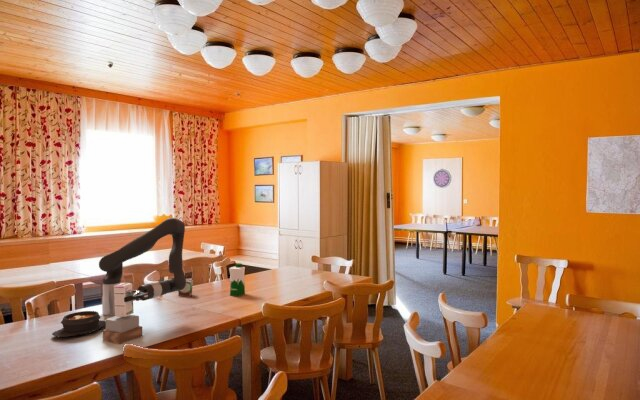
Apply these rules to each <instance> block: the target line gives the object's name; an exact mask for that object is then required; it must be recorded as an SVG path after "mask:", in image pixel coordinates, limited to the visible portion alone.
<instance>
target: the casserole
mask: <svg viewBox="0 0 640 400" xmlns="http://www.w3.org/2000/svg"><path fill="white" fill-rule="evenodd" d="M101 316H102V315H100V314H99V312H98V311H96V310H85V311H84V310H83V311H82V310H81V311H78V312H77V311H75V312H72V313H69V314H66V315H64V316H63V317H62V320H61V321H60V324H61V325H62V328H60V329H58V330H56V331H54V332H52V333H51V335H52V336H53V337H58V338H67V337H68V338H69V337H72V336H77V337H78V336H84V335H88V334H91V333H94V332H95V331H98V330H100V329H102V328H103V327H106V320H101Z"/></svg>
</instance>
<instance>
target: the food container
mask: <svg viewBox="0 0 640 400" xmlns="http://www.w3.org/2000/svg"><path fill="white" fill-rule="evenodd" d="M194 283H195V282H194V280H193V279H190V278H186V286H185V288H184V289H182V290H179V291H177V293H178V296H181V297H188V298H189V297H190V298H191V297H192V295H193V286H194Z"/></svg>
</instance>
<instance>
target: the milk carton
mask: <svg viewBox="0 0 640 400" xmlns="http://www.w3.org/2000/svg"><path fill="white" fill-rule="evenodd" d="M245 269H246V267H245V266H243V264H242V263H241V262H240V263H235V266H231V267H229V268H228V271H229V275H230V276H229V280H230V281H229V282H230V283H229V285H230V288H229V296H233V297H241V296H243V295H245V294H246V291H245V289H246V288H245V285H246V284H245V271H246V270H245Z"/></svg>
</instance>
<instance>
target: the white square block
mask: <svg viewBox="0 0 640 400" xmlns="http://www.w3.org/2000/svg"><path fill="white" fill-rule="evenodd" d="M105 321H106V326H105V329H106V330H108V331H113V332H118V333H122V332H125V331H128V330H131V329H134V328H136V327H139V326H140V316H139V315H135V314H130V315H128V316H126V317H119V316H115V315H114V316H112V317H108V318H106V319H105Z"/></svg>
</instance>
